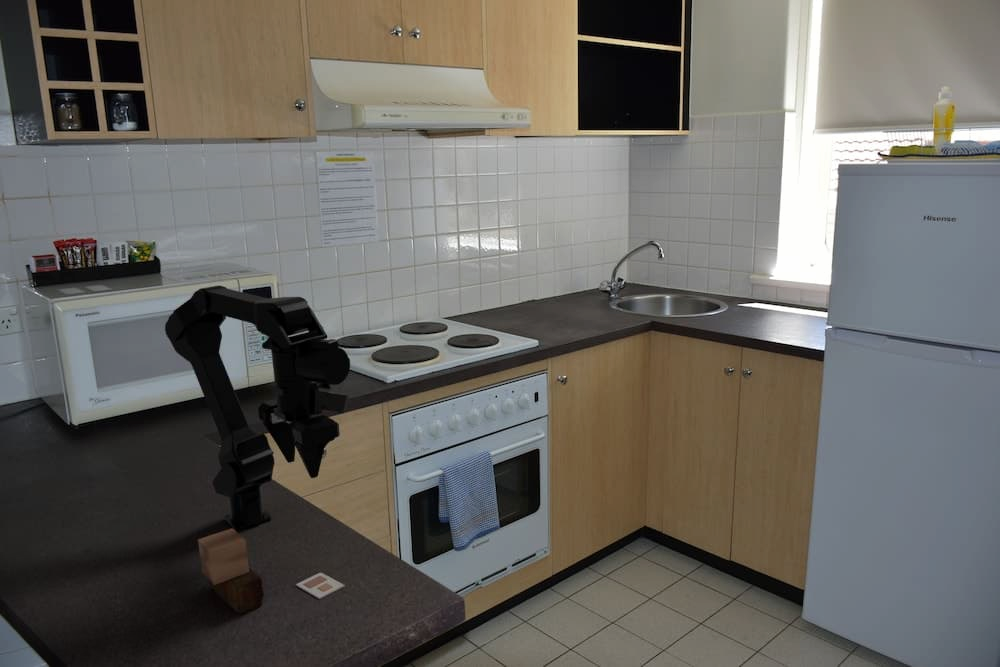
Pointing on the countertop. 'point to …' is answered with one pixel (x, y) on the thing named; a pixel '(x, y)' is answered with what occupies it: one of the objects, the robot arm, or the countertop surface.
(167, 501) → the countertop surface
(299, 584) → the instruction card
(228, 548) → the top block
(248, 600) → the brick
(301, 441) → the robot arm
